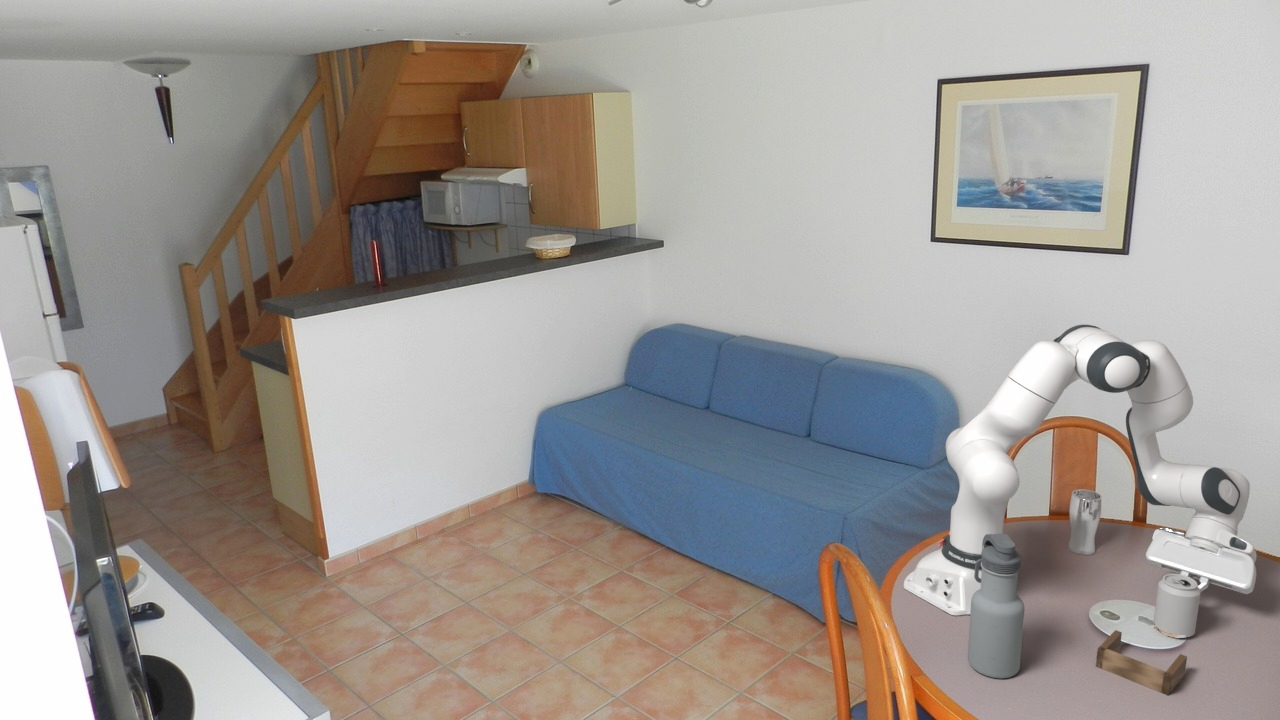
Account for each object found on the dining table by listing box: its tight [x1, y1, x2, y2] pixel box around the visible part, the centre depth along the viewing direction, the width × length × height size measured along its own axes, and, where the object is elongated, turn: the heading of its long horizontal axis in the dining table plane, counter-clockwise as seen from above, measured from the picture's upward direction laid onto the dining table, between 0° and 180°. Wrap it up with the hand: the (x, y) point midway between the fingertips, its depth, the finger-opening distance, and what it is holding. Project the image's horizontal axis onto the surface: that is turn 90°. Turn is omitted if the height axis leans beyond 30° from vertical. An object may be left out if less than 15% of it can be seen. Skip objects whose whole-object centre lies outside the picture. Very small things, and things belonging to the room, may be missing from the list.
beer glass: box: [1067, 488, 1102, 556], centre depth 213 cm, size 7×7×15 cm
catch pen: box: [1095, 629, 1188, 696], centre depth 168 cm, size 13×9×4 cm
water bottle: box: [967, 533, 1025, 679], centre depth 169 cm, size 10×10×28 cm
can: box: [1153, 573, 1202, 638], centre depth 179 cm, size 8×8×12 cm
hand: (1188, 595), depth 184 cm, fingers closed
